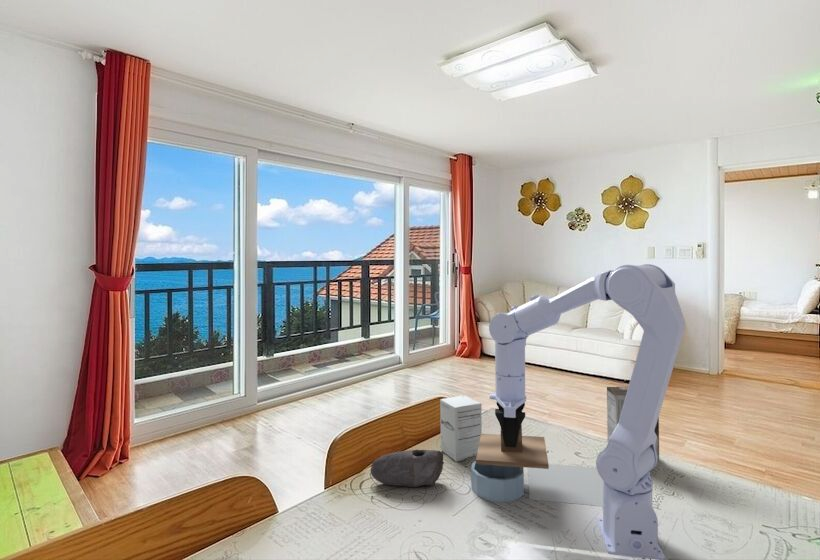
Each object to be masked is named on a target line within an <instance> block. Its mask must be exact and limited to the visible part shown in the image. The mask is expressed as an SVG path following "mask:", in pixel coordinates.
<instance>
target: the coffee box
mask: <svg viewBox="0 0 820 560" xmlns="http://www.w3.org/2000/svg"><path fill="white" fill-rule="evenodd" d="M628 387H629V386H606V417H607V418H606V420H607V421H606V430H607V431H606V434H607V439H606V440H607V443H608V441H609V438H610V436H611V434H612V433H613V431H614V430H615V428H616V426H617V425H618V423H619V419H620V415H621V412H622V408H623V405H624V401H625V397H626V394H627V390H628ZM659 418H660V416H659V417H658V420H657V424H656V427H655V430H654V431H655V434H656V435H657V439H656V443H655V449H656V453H657V463H656V465H655V467H660V419H659Z"/></svg>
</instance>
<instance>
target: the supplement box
mask: <svg viewBox="0 0 820 560" xmlns="http://www.w3.org/2000/svg"><path fill="white" fill-rule="evenodd" d="M439 403H440V404H439V405H440V408H439V409H440V417H439V418H440V420H439V421H440V450H442V451H441V452H442V453H444V454H446V455H447V456H448V457H450V458H451V459H453V460H454V461H455V462H456V463H457V462H461V461H466V459H467V458H470V457H475V456H477V451H478V447H479V442H480V437H481V434H483V433H482V424H483V423H482V420H483V419H482V418H483V417H482V403H481V402H480V401H477V400H475V399H473V398H471V397H469V396H467V395H459V396H458V395H456V396H452V397H445V398H440V400H439Z"/></svg>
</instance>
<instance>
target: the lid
mask: <svg viewBox="0 0 820 560" xmlns="http://www.w3.org/2000/svg"><path fill="white" fill-rule="evenodd" d="M522 431H523V429H522V424H521V426H520V430H519V435H518V441H517V445H516V448H514V447H505V445H504V441H503V435H502V430H501V429H500V434H496V433H482V434H481V437H480V442H479V447H478V451H477V455H475V456H476V458H475V461H476V464H483V465H498V466H513V467H523V468H526V469H527V468H542V469H549V464H550V463H549V459H548V451H547V446H546V439H545V436H536V435H533V436H532V435H531V436H529V435H523V432H522Z"/></svg>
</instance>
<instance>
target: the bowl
mask: <svg viewBox="0 0 820 560" xmlns="http://www.w3.org/2000/svg"><path fill="white" fill-rule="evenodd" d="M470 468H471V469H470V478H471V479H470V482H471V483H470V484H471V485H470V487H471V489H470V490H471V491H472V492H473V493H474V494H475V495H476V496H477V497H480V498H482V499H484V500H487V501H489V502H490V501H491V502H500V503H507V502H513V501H517V500H518V499H520V498H521V497H522V496H524V494H525V488H524V487H525V485H524V484H525V482H524V481H525V479H524V476H525V472H524V467H513V466H498V465H483V464H476V460H474V461H473V462H471V466H470Z"/></svg>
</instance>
